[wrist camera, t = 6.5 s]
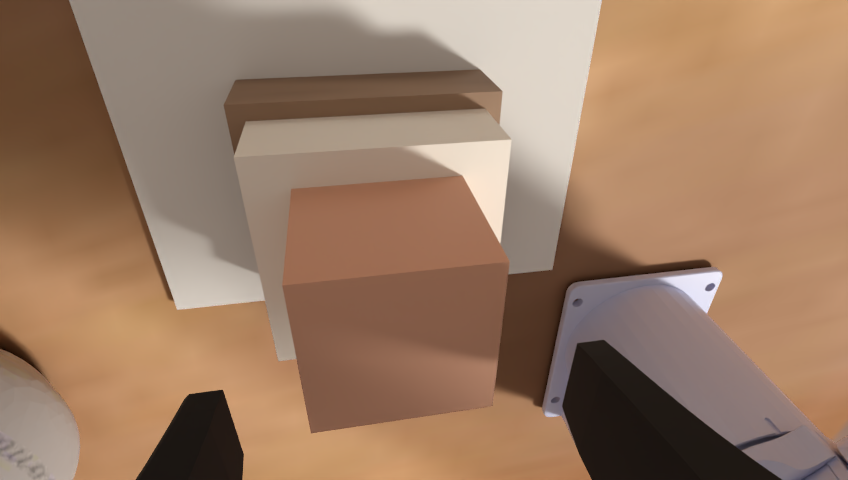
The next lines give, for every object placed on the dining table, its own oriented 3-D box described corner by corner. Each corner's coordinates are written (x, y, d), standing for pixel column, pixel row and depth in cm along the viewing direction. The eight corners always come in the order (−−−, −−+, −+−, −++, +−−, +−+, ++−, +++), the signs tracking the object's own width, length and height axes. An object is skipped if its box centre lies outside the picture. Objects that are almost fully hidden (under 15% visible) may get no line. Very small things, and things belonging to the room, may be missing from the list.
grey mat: (549, 264, 23) (552, 269, 23) (179, 303, 20) (177, 309, 20) (669, -415, 12) (679, -424, 12) (-98, -503, 9) (-112, -518, 9)
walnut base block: (467, 260, 21) (483, 297, 19) (275, 279, 20) (270, 321, 18) (480, 69, 17) (502, 91, 15) (235, 79, 16) (223, 104, 14)
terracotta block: (456, 303, 16) (492, 406, 13) (312, 320, 15) (311, 433, 12) (462, 175, 13) (509, 261, 10) (291, 188, 13) (282, 285, 9)
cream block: (471, 288, 19) (490, 334, 17) (282, 309, 18) (278, 361, 16) (485, 108, 15) (511, 139, 13) (245, 121, 14) (233, 157, 12)
